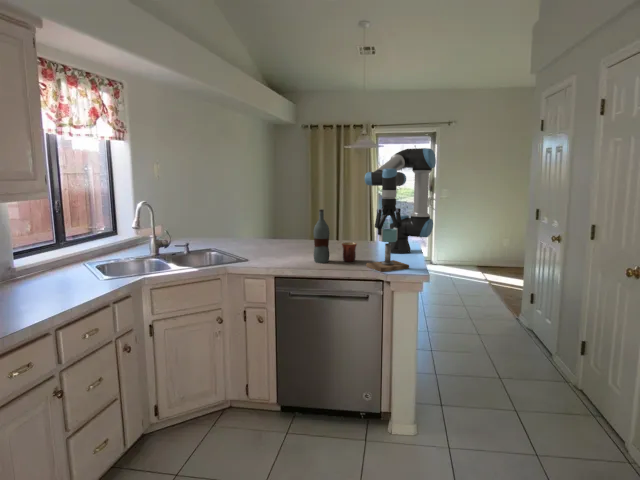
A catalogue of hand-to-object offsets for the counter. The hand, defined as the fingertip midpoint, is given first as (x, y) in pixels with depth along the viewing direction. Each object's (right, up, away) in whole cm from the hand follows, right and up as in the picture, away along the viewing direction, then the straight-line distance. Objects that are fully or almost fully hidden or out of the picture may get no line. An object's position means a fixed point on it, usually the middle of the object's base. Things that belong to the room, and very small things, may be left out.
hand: (388, 240), depth 242 cm
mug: (-20, -12, +18) cm, 30 cm away
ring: (0, 0, 0) cm, 0 cm away
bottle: (-36, -12, +18) cm, 42 cm away
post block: (0, -15, +2) cm, 15 cm away
